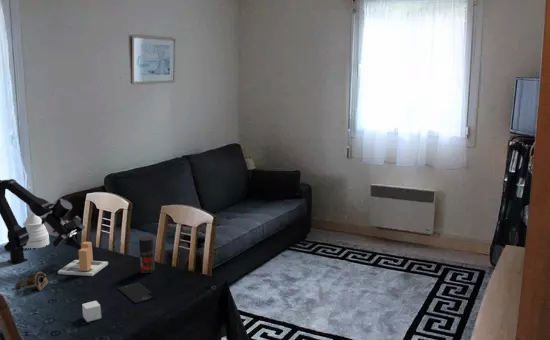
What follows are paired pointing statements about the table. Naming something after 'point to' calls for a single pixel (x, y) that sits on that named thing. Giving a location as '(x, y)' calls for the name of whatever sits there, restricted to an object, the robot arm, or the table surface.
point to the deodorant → (146, 254)
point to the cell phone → (135, 292)
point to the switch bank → (75, 270)
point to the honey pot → (36, 232)
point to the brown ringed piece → (33, 281)
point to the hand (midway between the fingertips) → (82, 248)
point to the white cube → (91, 311)
